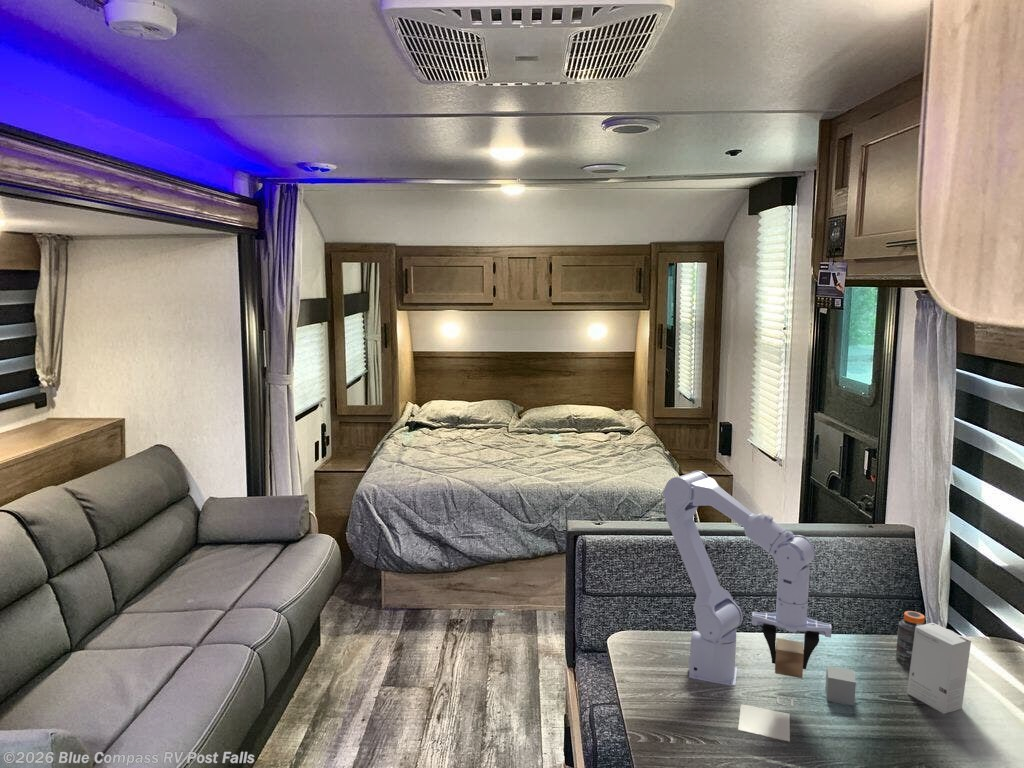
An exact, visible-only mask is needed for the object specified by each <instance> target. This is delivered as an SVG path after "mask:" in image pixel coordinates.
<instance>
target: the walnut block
mask: <svg viewBox="0 0 1024 768" xmlns="http://www.w3.org/2000/svg"><path fill="white" fill-rule="evenodd" d="M775 645H776V661H775V664H774V674H777V675H782V676H788V677H794V678H798V679H803V672H804V669H803V658H804V641H803V642H802V641H801V642H800V641H795V640H789V639H784V638H778V637H776V643H775Z"/></svg>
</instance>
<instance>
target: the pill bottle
mask: <svg viewBox="0 0 1024 768" xmlns="http://www.w3.org/2000/svg"><path fill="white" fill-rule="evenodd" d="M925 619H926V617H925V615H924V614H923V613H921V612H917V611H913V610H907V611H904V613H903V619H901V620H900V621H899V622H898V625H897V626H898V627H897V637H896V638H897V640H896V653H895V655H896V657H895V658H896V661H898V663H899V664H902V665H903V666H907V667H909V668H910V665H911V657H912V649H913V642H914V634H915V627H916V626H920V625H925V624H926V621H925Z"/></svg>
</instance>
